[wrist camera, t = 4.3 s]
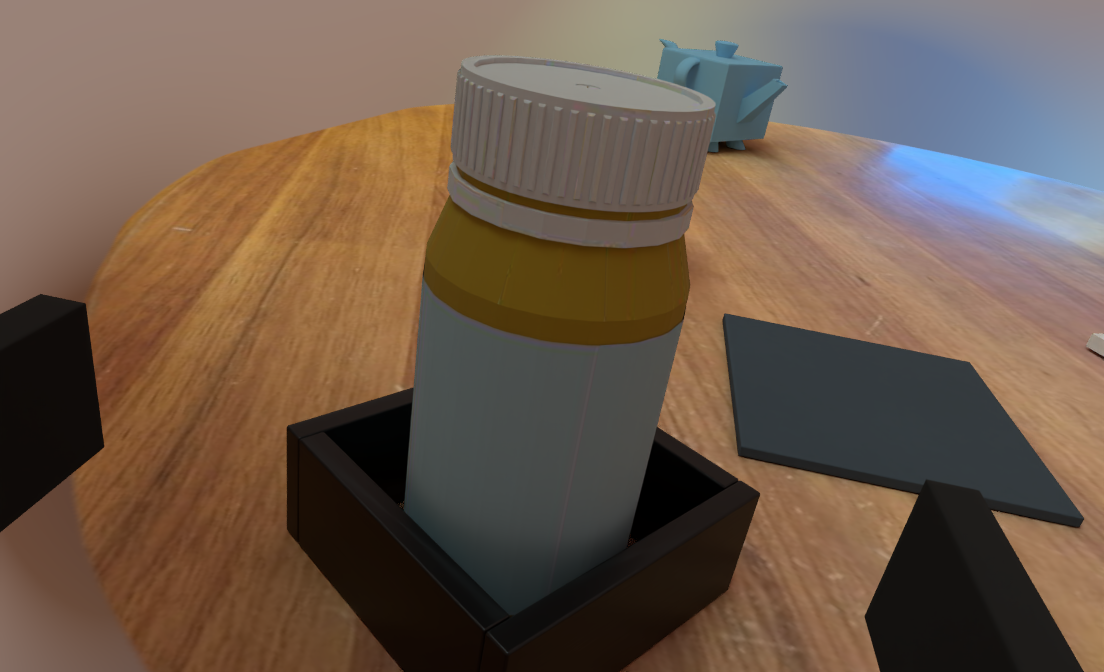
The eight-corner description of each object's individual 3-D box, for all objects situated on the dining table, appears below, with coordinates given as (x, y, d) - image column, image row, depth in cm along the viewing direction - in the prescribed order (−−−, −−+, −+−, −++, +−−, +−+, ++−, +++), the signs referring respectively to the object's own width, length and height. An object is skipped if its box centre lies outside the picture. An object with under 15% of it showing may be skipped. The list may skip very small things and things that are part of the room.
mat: (738, 456, 32) (741, 445, 32) (722, 320, 45) (724, 312, 45) (1079, 528, 32) (1085, 518, 31) (966, 369, 44) (969, 361, 44)
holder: (286, 529, 25) (285, 425, 23) (523, 435, 31) (537, 349, 30) (486, 772, 19) (507, 654, 17) (728, 590, 25) (761, 493, 24)
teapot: (723, 166, 82) (751, 54, 77) (602, 123, 93) (619, 23, 88) (800, 157, 92) (829, 58, 87) (683, 120, 103) (703, 30, 98)
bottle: (433, 672, 21) (500, 103, 14) (379, 506, 26) (408, 41, 20) (655, 619, 24) (798, 125, 17) (564, 479, 29) (644, 66, 23)
